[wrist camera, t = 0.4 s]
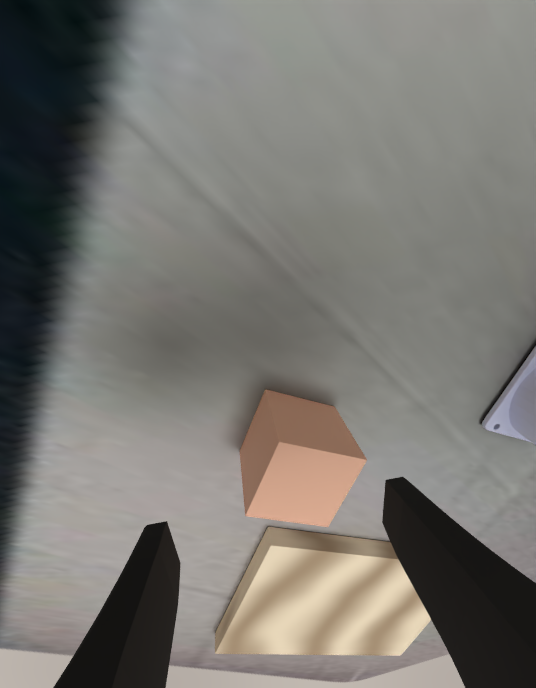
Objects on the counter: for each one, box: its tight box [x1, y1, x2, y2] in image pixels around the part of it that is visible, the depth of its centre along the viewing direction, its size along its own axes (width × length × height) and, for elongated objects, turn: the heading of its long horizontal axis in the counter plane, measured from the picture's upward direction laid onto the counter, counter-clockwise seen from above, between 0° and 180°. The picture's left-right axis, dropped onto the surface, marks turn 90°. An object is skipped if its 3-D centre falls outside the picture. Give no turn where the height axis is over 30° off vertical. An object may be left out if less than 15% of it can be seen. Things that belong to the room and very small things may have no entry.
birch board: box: [215, 527, 431, 656], centre depth 28 cm, size 20×14×2 cm
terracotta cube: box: [240, 389, 367, 527], centre depth 18 cm, size 5×5×5 cm
